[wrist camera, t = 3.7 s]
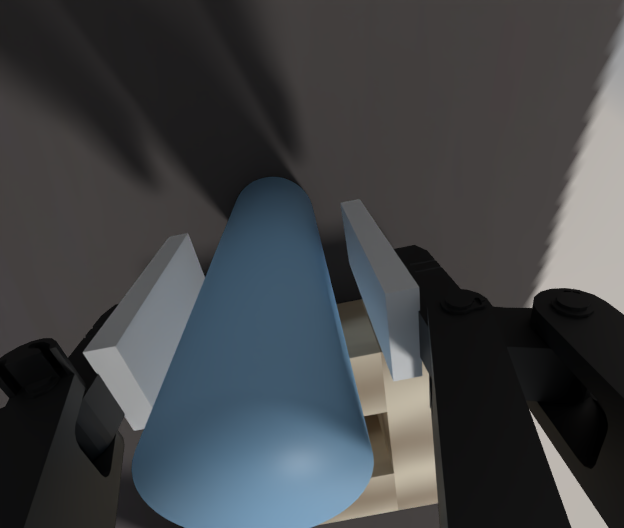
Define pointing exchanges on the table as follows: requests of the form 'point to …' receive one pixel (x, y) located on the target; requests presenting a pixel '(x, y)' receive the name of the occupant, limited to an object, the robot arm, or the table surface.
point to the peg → (259, 384)
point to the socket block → (389, 424)
